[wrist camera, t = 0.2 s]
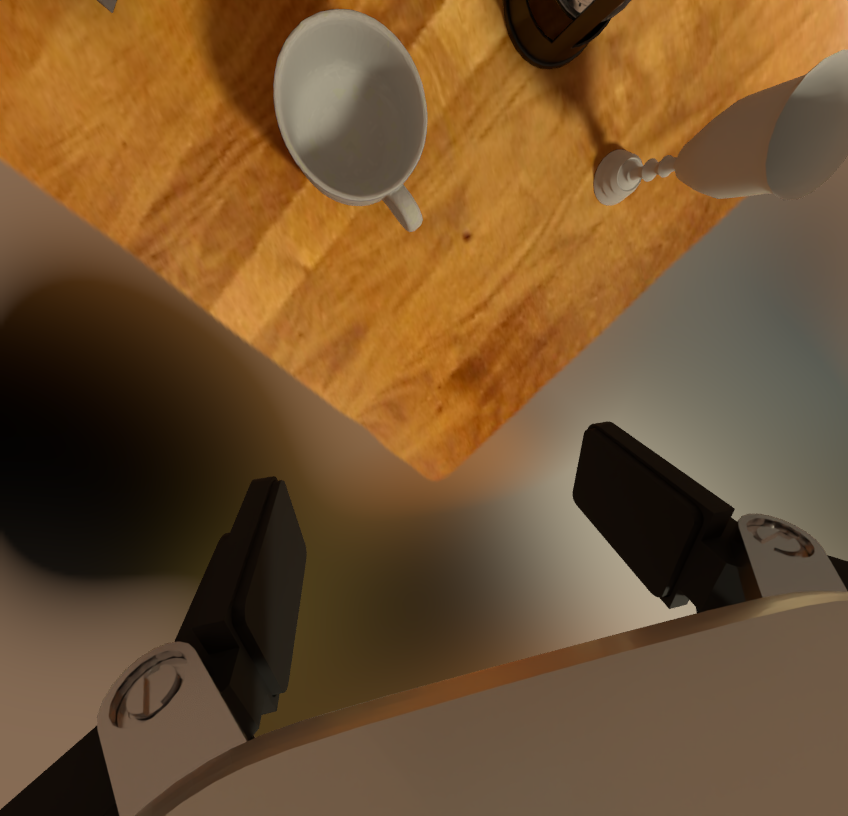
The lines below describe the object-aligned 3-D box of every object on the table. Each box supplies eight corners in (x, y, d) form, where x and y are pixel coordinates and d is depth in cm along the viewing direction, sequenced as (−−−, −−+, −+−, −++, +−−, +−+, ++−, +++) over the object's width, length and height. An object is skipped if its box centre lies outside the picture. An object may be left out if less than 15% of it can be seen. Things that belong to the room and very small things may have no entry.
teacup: (265, 96, 28) (236, 49, 21) (380, 37, 28) (389, -31, 21) (348, 260, 35) (346, 265, 28) (440, 214, 35) (463, 207, 28)
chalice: (628, 220, 38) (820, 207, 23) (577, 212, 37) (744, 192, 21) (654, 142, 35) (898, 64, 20) (599, 130, 34) (815, 34, 18)
